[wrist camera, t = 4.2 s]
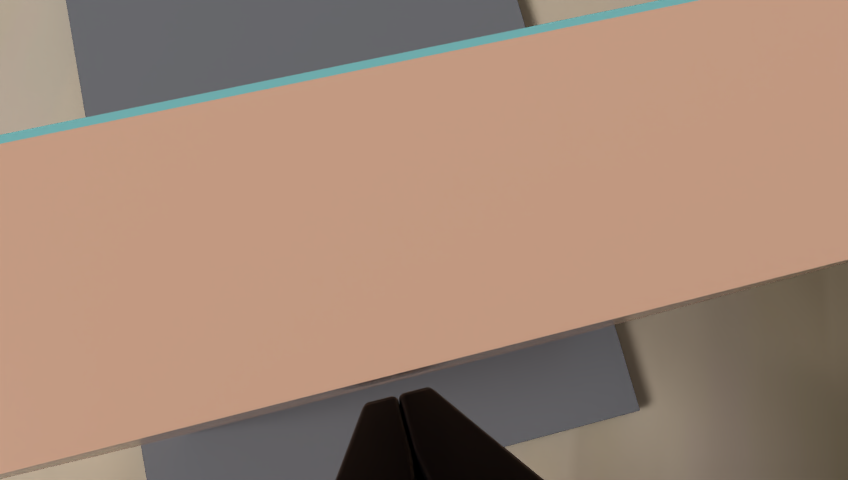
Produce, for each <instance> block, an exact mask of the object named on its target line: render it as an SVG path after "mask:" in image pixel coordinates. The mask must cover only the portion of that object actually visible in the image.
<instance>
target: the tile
mask: <svg viewBox="0 0 848 480" xmlns="http://www.w3.org/2000/svg"><path fill="white" fill-rule="evenodd" d="M844 263H848V0H658V1H654V2H649V3H644V4H639V5H634V6H629V7H624V8H619V9H614V10H609V11H605V12H600V13H595V14H590V15H585V16H580V17H575V18H570V19H565V20H561V21H556V22H551V23H546V24H541V25H536V26H531V27H526V28H521V29H516V30H512V31H507V32H502V33H497V34H492V35H487V36H482V37H477V38H472V39H467V40H463V41H458V42H453V43H448V44H443V45H438V46H433V47H428V48H423V49H419V50H414V51H409V52H404V53H399V54H394V55H389V56H384V57H379V58H374V59H370V60H365V61H360V62H355V63H350V64H345V65H340V66H335V67H330V68H325V69H321V70H316V71H311V72H306V73H301V74H296V75H291V76H286V77H281V78H277V79H272V80H267V81H262V82H257V83H252V84H247V85H242V86H237V87H232V88H228V89H223V90H218V91H213V92H208V93H203V94H198V95H193V96H188V97H183V98H179V99H174V100H169V101H164V102H159V103H154V104H149V105H144V106H139V107H134V108H130V109H125V110H120V111H115V112H110V113H105V114H100V115H95V116H90V117H86V118H81V119H76V120H71V121H66V122H61V123H56V124H51V125H46V126H41V127H37V128H32V129H27V130H22V131H17V132H12V133H7V134H2V135H0V479H3V478H7V477H11V476H15V475H19V474H23V473H28V472H32V471H36V470H40V469H44V468H48V467H52V466H57V465H61V464H65V463H69V462H73V461H77V460H82V459H86V458H90V457H94V456H98V455H102V454H106V453H111V452H115V451H119V450H123V449H127V448H131V447H136V446H140V445H144V444H148V443H152V442H156V441H160V440H165V439H169V438H173V437H177V436H181V435H185V434H189V433H193V432H197V431H201V430H205V429H209V428H213V427H217V426H221V425H225V424H229V423H233V422H237V421H241V420H244V419H248V418H252V417H256V416H260V415H264V414H268V413H272V412H276V411H280V410H284V409H288V408H292V407H296V406H300V405H303V404H307V403H311V402H315V401H319V400H323V399H327V398H331V397H335V396H339V395H343V394H347V393H351V392H355V391H359V390H362V389H366V388H370V387H374V386H378V385H382V384H386V383H390V382H394V381H398V380H402V379H406V378H410V377H414V376H418V375H421V374H425V373H429V372H433V371H437V370H441V369H445V368H449V367H453V366H457V365H461V364H465V363H469V362H473V361H477V360H480V359H484V358H488V357H492V356H496V355H500V354H504V353H508V352H512V351H516V350H520V349H524V348H528V347H532V346H536V345H540V344H543V343H547V342H551V341H555V340H559V339H563V338H567V337H571V336H575V335H579V334H582V333H586V332H590V331H594V330H597V329H601V328H605V327H608V326H612V325H616V324H620V323H623V322H627V321H631V320H635V319H638V318H642V317H646V316H650V315H653V314H657V313H661V312H665V311H668V310H672V309H676V308H679V307H683V306H687V305H691V304H694V303H698V302H702V301H706V300H709V299H713V298H717V297H721V296H724V295H728V294H732V293H735V292H739V291H743V290H747V289H750V288H754V287H758V286H762V285H765V284H769V283H773V282H777V281H780V280H784V279H788V278H792V277H795V276H799V275H803V274H806V273H810V272H814V271H818V270H821V269H825V268H829V267H833V266H836V265H840V264H844Z"/></svg>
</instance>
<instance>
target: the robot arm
mask: <svg viewBox="0 0 848 480" xmlns="http://www.w3.org/2000/svg"><path fill="white" fill-rule="evenodd" d="M335 480H543V479H542V478H541V477H540V476H538V475H537V474H536V473H535V472H533V471H532V470H531V469H530V468H529V467H527V466H526V465H525V464H524V463H523V462H521V461H520V460H519V459H518V458H516V457H515V456H514V455H513V454H512V453H510V452H509V451H508V450H507V449H506V448H504V447H503V446H502V445H501V444H499V443H498V442H497V441H496V440H495V439H493V438H492V437H491V436H490V435H489V434H487V433H486V432H485V431H484V430H482V429H481V428H480V427H479V426H478V425H476V424H475V423H474V422H473V421H471V420H470V419H469V418H468V417H467V416H465V415H464V414H463V413H462V412H461V411H459V410H458V409H457V408H456V407H454V406H453V405H452V404H451V403H450V402H448V401H447V400H446V399H445V398H444V397H442V396H441V395H440V394H439V393H437V392H436V391H435V390H434V389H432V388H430V387H425V388H421V389H417V390H413V391H410V392H406V393H403V394H401V395H400V397H399V401H398V399H397V398H396V397H394V396H390V397H386V398H383V399H379V400H375V401H371V402H368V403H366V404H365V405H364V406H363V408H362V411H361V413H360V416H359V419H358V421H357V424H356V426H355V429H354V432H353V434H352V437H351V440H350V442H349V445H348V448H347V450H346V453H345V456H344V458H343V461H342V464H341V466H340V469H339V472H338V474H337V477H336V479H335Z"/></svg>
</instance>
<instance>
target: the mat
mask: <svg viewBox="0 0 848 480" xmlns="http://www.w3.org/2000/svg"><path fill="white" fill-rule="evenodd" d="M66 3H67V9H68V15H69V21H70V27H71V33H72V39H73V45H74V51H75V57H76V63H77V68H78V74H79V80H80V86H81V92H82V98H83V104H84V110H85V116H86V117H90V116H95V115H100V114H105V113H110V112H115V111H120V110H125V109H130V108H134V107H139V106H144V105H149V104H154V103H159V102H164V101H169V100H174V99H179V98H183V97H188V96H193V95H198V94H203V93H208V92H213V91H218V90H223V89H228V88H232V87H237V86H242V85H247V84H252V83H257V82H262V81H267V80H272V79H277V78H281V77H286V76H291V75H296V74H301V73H306V72H311V71H316V70H321V69H325V68H330V67H335V66H340V65H345V64H350V63H355V62H360V61H365V60H370V59H374V58H379V57H384V56H389V55H394V54H399V53H404V52H409V51H414V50H419V49H423V48H428V47H433V46H438V45H443V44H448V43H453V42H458V41H463V40H467V39H472V38H477V37H482V36H487V35H492V34H497V33H502V32H507V31H512V30H516V29H521V28H525V24H524V21H523V18H522V14H521V11H520V8H519V4H518V1H517V0H66ZM425 387H430V388H432V389H434V390H435V391H436V392H437V393H439V394H440V395H441V396H442V397H444V398H445V399H446V400H447V401H448V402H450V403H451V404H452V405H453V406H454V407H456V408H457V409H458V410H459V411H461V412H462V413H463V414H464V415H465V416H467V417H468V418H469V419H470V420H471V421H473V422H474V423H475V424H476V425H478V426H479V427H480V428H481V429H482V430H484V431H485V432H486V433H487V434H489V435H490V436H491V437H492V438H493V439H495V440H496V441H497V442H498V443H499V444H501V445H502V446H503V447H505V446H509V445H513V444H517V443H520V442H524V441H528V440H531V439H535V438H539V437H543V436H546V435H550V434H554V433H557V432H561V431H565V430H569V429H572V428H576V427H580V426H584V425H587V424H591V423H595V422H598V421H602V420H606V419H610V418H613V417H617V416H621V415H624V414H628V413H632V412H636V411H639V410H640V409H639V405H638V402H637V399H636V395H635V392H634V389H633V385H632V382H631V379H630V375H629V372H628V369H627V365H626V362H625V359H624V355H623V352H622V349H621V345H620V342H619V339H618V335H617V332H616V329H615V325H612V326H608V327H605V328H601V329H597V330H594V331H590V332H586V333H582V334H579V335H575V336H571V337H567V338H563V339H559V340H555V341H551V342H547V343H543V344H540V345H536V346H532V347H528V348H524V349H520V350H516V351H512V352H508V353H504V354H500V355H496V356H492V357H488V358H484V359H480V360H477V361H473V362H469V363H465V364H461V365H457V366H453V367H449V368H445V369H441V370H437V371H433V372H429V373H425V374H421V375H418V376H414V377H410V378H406V379H402V380H398V381H394V382H390V383H386V384H382V385H378V386H374V387H370V388H366V389H362V390H359V391H355V392H351V393H347V394H343V395H339V396H335V397H331V398H327V399H323V400H319V401H315V402H311V403H307V404H303V405H300V406H296V407H292V408H288V409H284V410H280V411H276V412H272V413H268V414H264V415H260V416H256V417H252V418H248V419H244V420H241V421H237V422H233V423H229V424H225V425H221V426H217V427H213V428H209V429H205V430H201V431H197V432H193V433H189V434H185V435H181V436H177V437H173V438H169V439H165V440H160V441H156V442H152V443H148V444H144V445H141V448H142V454H143V460H144V466H145V472H146V478H147V480H335V479H336V477H337V474H338V472H339V469H340V466H341V464H342V461H343V458H344V456H345V453H346V450H347V448H348V445H349V442H350V440H351V437H352V434H353V432H354V429H355V426H356V424H357V421H358V419H359V416H360V413H361V411H362V408H363V406H364V405H365V404H366V403H368V402H371V401H375V400H379V399H383V398H386V397H390V396H394V397H396V398H397V399H398V401H399V397H400V395H401V394H403V393H406V392H410V391H413V390H417V389H421V388H425Z"/></svg>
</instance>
